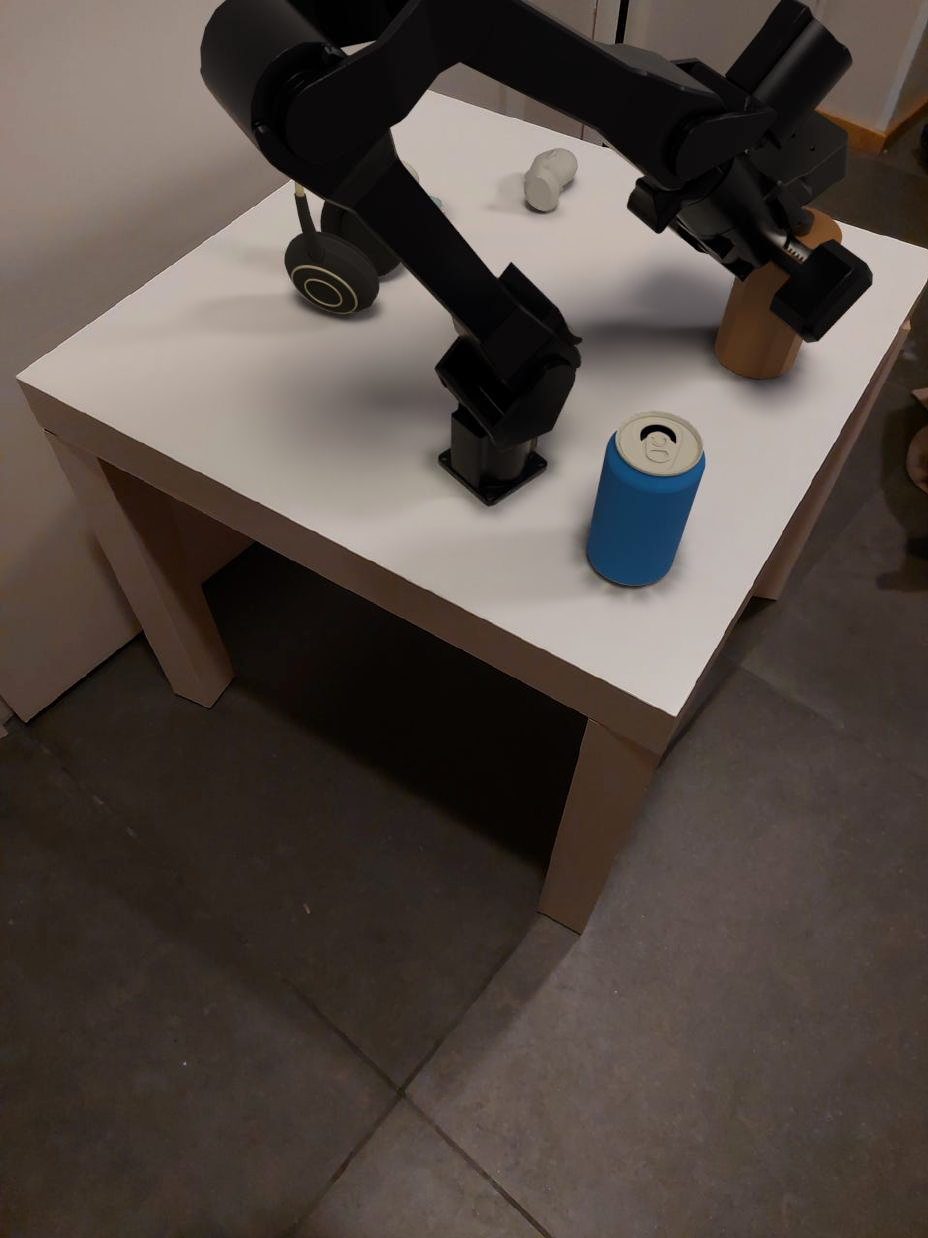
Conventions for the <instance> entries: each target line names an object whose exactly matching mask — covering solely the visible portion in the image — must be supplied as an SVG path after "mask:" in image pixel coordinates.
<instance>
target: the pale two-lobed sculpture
mask: <svg viewBox="0 0 928 1238" xmlns="http://www.w3.org/2000/svg"><path fill="white" fill-rule="evenodd" d="M578 168H579V163H578V159H577V157H576V155H575V154H574V153H573V152H572V151H570V150H569V149H566V148H562V147H557V148H552V149H548V150H545V151H543V152H541V153H539V154H537V155H536V156H535V157H534V159H533V161H532V163H531V165H530V168H529V169H527V171H526V172H525V173H524V179H525V180H524V181H525V185H524V196H525V198H526V200H527V202H528V203H529V205H531V206H532V207H533V208H535V209H536V210H539V211H542V212H550V211H553V210H554V208H556V206H557V204H558V203H559V199H560V193H561V192H563V187H564V186H566V185H567V184H568V183H569V182H570V181H571V180H573V178H574V177H575V176H576V174H577V172H578Z"/></svg>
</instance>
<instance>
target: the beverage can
mask: <svg viewBox="0 0 928 1238" xmlns="http://www.w3.org/2000/svg"><path fill="white" fill-rule="evenodd" d="M705 468H706V454H705V450H704V441H703V438H702V435H701V433H700V431H699V430H698V429H697V428H696V427H695V426H694V425H693V424H692V423H691V422H690V421H688V420H687V419H685V418H684V417H682V416H680V415H677V414H675V413H671V412H668V411H662V410H646V411H640V412H637V413H634V414H631V415H630V416H628V417H627V418H626V419H624V420H623V421H622V422H621V423H620V424H619V426H618V428H617V430H615V431H614V432H613V433H612V435H611V436H610V438H609V439H608V441H607V443H606V447H605V451H604V456H603V462H602V466H601V471H600V475H599V481H598V486H597V491H596V496H595V500H594V506H593V511H592V516H591V520H590V525H589V526H590V527H589V530H588V534H587V535H588V536H587V541H586V552H587V553H586V554H587V557H588V560H589V562H590V563H591V565H592V566H593V568H594V569H595V570H596V571H597V572H598V573H599V574H600V575H601V576H603V577H604V578H606V579H607V580H610V581H611V582H615V583H617V584H621V585H625V586H632V587H633V586H634V587H635V586H636V587H637V586H645V585H650V584H652V583H655V582H657V581H659V580H661V579H662V578H663V577H664V576H665V575H667V573H668V572H669V571H670V570H671V568H672V566H673V563H674V561H675V558H676V555H677V552H678V550H679V546H680V543H681V540H682V538H683V534H684V531H685V528H686V526H687V523H688V519H689V516H690V513H691V511H692V507H693V504H694V501H695V498H696V495H697V493H698V490H699V487H700V484H701V481H702V479H703V475H704V472H705Z"/></svg>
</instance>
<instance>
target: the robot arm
mask: <svg viewBox="0 0 928 1238" xmlns="http://www.w3.org/2000/svg"><path fill="white" fill-rule="evenodd" d="M368 43H369V44H368ZM362 44H368V45H366V46H364V47H362V48H361V49H359V50H357V51H355V52H353V53H352V54H347V53H346V52H345V51H344V50H343V49H344V48H347V47H352V46H358V45H362ZM342 48H343V49H342ZM199 52H200V53H199V54H200V69H199V72H200V76H201V79H202V81H203V83H204V86H205V87H206V88H207V90H208V91H209V92H210V94H211V95H212V97H213V98H214V100H215V101H216V103H218V105H219V106H220V107H221V108H222V109H223V110H224V112H225V113H226V114H227V115H228V117H230V119H231V120H232V121H233V122H234V124H236V126H237V127H238V128H239V129H240V130H241V132H242V133H243V134H244V135H245V136H246V138H247V139H248V140H249V141H250V142H251V144H252V145H254V147H255V148H256V149H257V150H258V151H259V153H260V154H261V155H262V156H263V158H265V160H266V161H267V162H268V163H269V165H271V166H272V167H273V168H275V169H276V170H277V171H278V172H280V173H281V174H283V175H284V176H285V177H287V178H289V179H290V180H292V181H294V183H295V182H297V183H298V184H300V185H301V186H303V188H304V189H305V190H307V191H308V192H310V193H312V194H313V195H315V196H316V197H318V198H320V199H321V200H322V201H323V202H325V201H327V202H329V203H332V204H334V205H337V206H339V207H342V208H344V209H346V210H348V211H350V212H351V213H353V214H354V215H355V216H356V217H357V218H358V219H359V220H360V221H361V222H362V223H363V224H364V225H365V226H366V227H367V228H368V229H369V230H370V231H371V232H372V233H373V234H374V235H375V236H376V237H377V238H378V239H379V241H380V242H381V243H382V244H383V245H384V246H385V247H386V248H387V249H388V250H389V251H390V252H391V253H392V254H393V255H394V256H395V257H396V258H397V259H398V260H399V261H400V262H401V263H400V264H401V265H402V266H403V267H404V268H405V269H406V270H407V271H408V272H409V273H410V274H411V275H412V276H413V277H414V278H415V279H416V280H417V281H418V282H419V283H420V284H421V285H422V286H423V288H424V289H425V290H426V291H428V293H429V294H430V295H431V296H432V297H433V298H434V299H435V300H436V301H437V302H438V303H439V304H440V305H441V306H442V307H443V309H445V311H447V312H448V313H449V314H450V316H451V321H452V325H453V328H454V331H455V332H456V333H457V335H458V336H457V337H456V338H455V339H454V341H453V342H452V343H451V344H450V346H449V348H448V349H447V350H446V351H445V353H443V355H442V357H441V358H440V359H439V360H438V362H437V363H436V364H435V366H434V371H435V375H437V378H438V380H439V382H440V384H441V385H442V386H443V387H444V388H445V389H447V390H448V391H449V393H450V394H451V395H452V396H453V397H454V398H455V400H456V402H457V409H455V410H454V411H452V412H451V413H450V447H449V448H448V449H445V450H444V451H443V452H441V453H439V454H438V456H437V463H438V464H439V465H440V466H441V467H442V468H444V469H445V470H446V471H447V472H448V473H449V474H450V475H452V476H453V477H454V478H455V479H456V480H458V482H460V483H461V484H462V485H464V487H466V489H468V490H469V491H470V492H471V493H472V494H474V495H475V496H476V497H477V498H478V499H479V500H481V501H482V502H483V503H484V504H486V505H488V506H494V505H495V504H497V503H498V502H500V501H502V500H503V499H505V498H507V496H509V495H511V494H512V493H513V492H515V491H516V490H518V489H520V488H521V487H523V486H524V485H525V484H528V483H529V482H530V481H531V480H533V479H534V478H536V477H538V476H539V475H541V474H542V473H544V472H545V471H547V469H548V466H549V465H548V463H549V462H548V461H547V459H545V458H544V457H543V456H542V455H540V454H539V453H538V452H537V451H536V449H537V448H538V443H539V437H541V436H543V435H545V434H548V433H550V432H552V431H553V430H554V428H555V425H556V423H557V421H558V419H559V417H560V415H561V412H562V411H563V408H564V407H565V404H566V402H567V400H568V397H569V396H570V393H571V391H572V390H573V387H574V384H575V382H576V377H577V375H576V373H577V370H578V369H579V368H581V366H582V355H581V352H580V350H579V349H578V348H577V347H576V346H577V345H579V344H581V343H582V342H583V341H584V338H583V337H582V336H581V335H580V334H579V333H578V332H577V331H576V330H575V329H574V328H573V327H572V326H571V325H570V324H569V323H568V322H567V321H566V319H565V317H564V315H563V314H562V312H561V310H560V308H559V307H558V306H557V305H556V304H555V303H554V302H553V301H552V300H551V299H550V298H548V297H549V296H547V295H546V294H545V293H544V292H543V291H542V290H540V288H539V287H538V286H537V285H536V284H535V283H533V281H531V280H530V278H529V277H528V276H527V275H525V273H524V272H523V271H522V270H520V269H519V267H518V266H516V264H514V263H513V262H512V261H510V262H509V263H508V265H507V266H506V267H505V268H504V270H503V271H502V272H501V273H500V275H499V276H497V275H495V274H494V273H493V272H492V270H490V268H489V267H488V266H487V264H486V263H485V262H484V261H483V260H482V258H481V257H480V256H479V255H478V254H477V252H476V251H475V250H474V249H473V248H472V246H471V245H470V243H469V242H467V240H466V239H465V238H464V236H463V235H462V234H461V233H460V232H459V230H458V229H457V228H456V227H455V225H454V224H453V223H452V222H451V221H450V219H449V218H448V217H447V216H446V214H445V212H444V213H443V212H442V211H441V210H440V209H439V207H438V206H437V205H436V204H435V202H434V201H433V200H432V199H431V198H430V196H431V195H429V194H428V193H427V191H426V190H425V189H424V187H423V186H422V185H421V184H420V182H419V183H418V182H417V181H416V179H415V178H414V177H413V176H412V174H411V173H410V172H409V171H408V170H407V168H406V167H405V166H404V165H403V163H402V162H401V160H402V159H401V158H400V156H399V154H398V152H397V148H396V144H395V140H394V135H393V133H392V130H391V128H392V127H394V126H396V125H398V124H399V123H401V122H402V121H404V120H405V119H406V118H407V117H408V116H409V115H410V113H411V112H412V111H413V109H415V107H416V105H417V104H418V103H419V101H420V100H421V99H422V97H423V96H424V95H425V94H426V92H427V91H428V90H429V88H430V87H431V86H432V84H433V83H434V82H435V80H436V79H437V78H438V76H439V75H440V74H442V73H443V72H445V71H446V70H449V69H451V68H452V67H454V66H457V65H458V64H462V65H463V66H466V67H468V68H470V69H472V70H473V71H476V72H477V73H479V74H482V75H484V76H485V77H488V78H490V79H492V80H493V81H496V82H498V83H500V84H502V85H504V86H506V87H508V88H510V89H512V90H514V91H516V92H518V93H520V94H522V95H524V96H526V97H528V98H530V99H532V100H534V101H536V102H538V103H540V104H542V105H544V106H545V107H548V108H550V109H551V110H554V111H556V112H558V113H560V114H562V115H564V116H566V117H567V118H570V119H572V120H573V121H576V122H578V123H580V124H582V126H584V127H585V128H587V130H589V131H590V132H591V133H592V134H593V135H594V136H595V137H597V138H598V140H600V141H601V142H602V143H603V144H604V145H605V146H607V148H609V149H611V151H613V152H614V153H615V154H616V155H618V156H619V157H620V158H622V159H623V160H624V161H626V162H627V163H628V164H629V165H630V166H631V167H633V168H634V169H635V170H636V171H638V172H639V173H641V174H642V175H643V176H641V177H638V178H637V179H636V180H635V184H634V188H633V189H632V190H631V192H630V193H629V196H628V200H627V202H626V209H627V210H628V211H629V212H630V213H631V214H633V215H634V216H635V217H636V218H637V219H639V220H640V221H641V222H642V223H643V224H644V225H645V226H647V227H648V228H649V229H650V230H652V231H653V233H655V234H657V235H660V234H663V232H665V230H666V229H669V230H670V231H671V232H672V233H674V234H675V235H676V236H677V237H679V238H680V239H681V240H683V241H684V242H685V243H687V244H688V245H689V246H690V247H692V248H693V249H694V250H695V251H696V252H698V253H702V254H704V255H709V256H710V257H711V258H712V259H713V260H714V261H716V262H717V263H718V264H719V265H720V266H721V267H723V268H724V269H725V270H727V271H728V272H729V273H730V274H731V275H733V276H734V278H735V277H736V278H738V279H739V280H740V281H741V282H744V281H745V279H746V278H747V277H748V276H749V275H750V274H751V273H752V271H753V270H754V269H759V268H761V267H763V266H765V265H766V264H768V263H769V262H770V263H772V264H773V265H774V266H776V267H777V268H778V269H779V270H781V271H782V272H783V273H784V274H786V275H787V276H788V277H789V279H788V280H787V281H786V282H785V283H784V284H783V285H782V286H781V287H780V289H779V290H778V291H777V292H776V293H775V294H774V296H773V299H772V302H771V305H770V308H769V310H770V312H771V313H773V314H774V315H775V316H776V317H777V318H778V319H779V320H780V321H781V322H782V323H783V324H785V325H786V326H787V327H788V328H789V329H791V330H792V331H793V332H794V333H795V334H797V335H798V336H799V337H800V338H802V339H803V342H805V343H806V344H812V343H818V342H819V341H820V340H821V339H822V338H824V336H825V335H826V334H827V333H828V332H829V331H830V330H831V329H832V328H833V327H834V326H835V324H837V323H838V322H839V320H840V319H841V318H842V317H843V316H844V315H845V314H846V313H847V312H848V311H849V310H850V309H851V308H852V307H853V306H854V305H855V303H857V302H858V300H859V299H860V298H862V296H863V295H864V294H865V293H866V292H867V291H868V290H869V289H870V288H871V287H872V286H873V281H874V273H873V272H872V270H871V267H870V266H869V264H868V263H867V262H866V261H865V260H863V259H862V258H861V257H859V256H858V255H856V254H855V253H853V252H852V251H850V249H848V248H847V247H845V246H844V245H843V244H842V243H841V244H840V243H838V242H837V241H836V240H834V239H831V240H828V241H826V242H823V243H821V244H819V245H818V247H816V248H814V249H810V248H809V247H807V246H806V245H805V244H803V243H802V242H801V241H799V240H798V239H797V238H795V237H794V236H793V235H791V234H790V233H789V232H788V231H789V230H790V229H791V230H792V231H796V230H797V229H798V228H799V227H800V226H801V224H802V223H803V222H804V221H805V220H806V219H807V218H808V217H807V216H806V214H805V213H804V211H803V210H802V207H803V206H807V205H809V204H810V203H812V202H813V201H814V200H815V199H817V198H818V197H819V196H820V195H822V194H823V193H824V192H825V191H827V190H828V189H830V188H831V187H832V186H833V185H834V184H835V183H837V184H838V183H839V182H841V181H842V180H843V179H844V178H845V177H846V176H847V174H848V171H849V166H848V165H849V133H848V131H847V130H846V129H845V128H843V127H842V126H840V125H838V124H837V123H835V122H834V121H832V120H831V119H829V118H828V117H826V116H825V115H823V114H821V113H820V112H818V111H817V110H816V109H817V108H818V106H819V105H820V104H821V103H822V101H824V99H825V98H826V97H827V96H828V94H829V93H830V92H831V91H832V90H833V88H834V87H835V86H836V85H837V84H838V83H839V82H840V80H841V79H842V78H843V77H844V76H845V74H847V72H848V71H849V70H850V68H851V67H852V66H853V64H854V63H853V62H854V60H853V56H852V53H851V52H850V49H849V48H848V47H847V46H846V45H845V44H843V43H841V42H840V41H839V40H838V39H837V38H836V37H835V35H834V34H833V33H832V32H831V31H830V30H829V29H828V28H827V27H826V26H825V25H824V24H822V22H821V21H820V20H818V19H817V18H816V17H814V15H813V12H812V10H811V8H810V7H809V5H807V4H806V3H804V2H801V1H800V0H779V2H778V3H777V4H776V6H775V7H774V8H773V10H772V11H771V13H769V15H768V17H767V18H766V20H765V22H764V23H763V25H762V27H761V28H760V30H759V31H758V32H757V33H756V34H755V36H754V37H753V38H752V40H751V41H750V42H749V43H748V45H746V47H745V48H744V50H743V51H742V52H741V53H740V55H739V56H738V57H737V59H736V60H735V62H734V61H733V62H734V63H732V65H731V66H730V68H729V69H728V70H727V71H726V73H725V74H724V75H723V74H721V73H720V72H719V71H717V70H716V69H713V67H711V66H709V65H708V64H706V62H703V61H702V60H700V59H699V58H697V57H690V58H682V59H681V58H680V59H671V60H669V59H666V57H664V56H663V55H661V54H660V53H658V52H655V51H653V50H649V49H645V48H640V47H637V46H634V45H630V44H626V43H623V42H620V43H612V44H608V43H605V42H601V41H598V40H594V39H592V38H591V37H589V36H587V35H586V34H584V33H582V32H581V31H579V30H577V29H576V28H574V27H573V26H571V25H569V24H568V23H566V22H565V21H563V20H561V19H560V18H558V17H557V16H555V15H553V14H551V13H550V12H548V11H546V10H545V9H543V8H542V7H540V6H539V5H537V4H535V3H533V2H532V1H530V0H224V1H223V2H221V4H219V5H218V6H217V7H216V8H215V9H214V11H213V13H212V14H211V16H210V18H209V20H208V21H207V23H206V24H205V26H204V30H203V35H202V38H201V43H200V47H199ZM348 55H350V56H348ZM783 246H784V247H783ZM782 247H783V248H784V249H785V250H786V249H787V251H788V252H791V254H792V255H794V254H795V255H794V256H795V258H797V257H798V260H799V261H801V260H802V261H801V262H802V264H800V263H799V262H797V261H796V260H795V259H793V258H792V257H791V256H790V255H788V254H787V253H786V252H784V251H783V250H782Z"/></svg>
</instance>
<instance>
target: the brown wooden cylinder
mask: <svg viewBox="0 0 928 1238" xmlns="http://www.w3.org/2000/svg"><path fill="white" fill-rule="evenodd" d="M802 210H803V211H804V213H805V214H806V216H807V217H808V218H807V219H806V220H805V221H804V222H803V223H802V224H801V226H800V227H799V228H798V229H797V230H796V231H792V230H791V229H790V230H789V231H788V232H789V233H790V234H791V235H793V236H794V237H795V238H797V239H798V240H799V241H801V242H802V243H803V244H805V245H806V246H807V247H809V248H810V249H814V248H816V247H818V245H819V244H821V243H823V242H826V241H828V240H831V239H834V240H836V241H837V242H838V243H840V244H841V245H842V241H843V232H842V229H841V228H840V225H839V224H838V223H837V221H835V220H834V218H832V217H831V216H829V215H828V214H826V213H824V212H822V211H821V210H818V209H816V208H813V207H809V206H807V205H805V206H803V207H802ZM783 247H784V246H783ZM783 247H782V250H783V251H784V252H786V253H787V254H788V255H790V256H791V257H792V258H793V259H795V260H796V261H797V262H799V263H800V264H802V262H801V261H802V260H801V261H799V260H798V257H797V258H795V256H794V255H795V254H794V255H792V254H791V252H788V251H787V249H786V250H785V249H784V248H783ZM788 279H789V277H788V276H787V275H786V274H784V273H783V272H782V271H781V270H779V269H778V268H777V267H776V266H774V265H773V264H772V263H770V262H769V263H768V264H766V265H765V266H763V267H761V268H759V269H754V270H753V271H752V273H751V274H750V275H749V276H748V277H747V278H746V279H745V281H744V282H741V281H740V280H739V279H738V278H736V277H735V276H734V279H733V282H732V286H731V288H730V292H729V296H728V298H727V302H726V306H725V308H724V312H723V315H722V319H721V322H720V326H719V329H718V332H717V335H716V338H715V343H714V346H713V352H714V353H715V355H716V357H717V359H718V362H719V363H720V364H721V365H722V366H724V367H725V368H727V369H729V371H731V372H733V373H734V374H736V375H738V376H742V377H747V378H751V379H755V380H765V379H766V380H767V379H772V378H779V377H781V376H782V375H783V374H785V373H786V372H788V371H789V370H790V369H792V368H793V367H794V364H795V361H796V359H797V357H798V354H799V352H800V350H801V346H802V344H803V343H804V340H803V339H802V338H800V337H799V336H798V335H797V334H795V333H794V332H793V331H792V330H791V329H789V328H788V327H787V326H786V325H785V324H783V323H782V322H781V321H780V320H779V319H778V318H777V317H776V316H775V315H774V314H773V313H771V312H770V310H769V308H770V305H771V302H772V299H773V296H774V294H775V293H776V292H777V291H778V290H779V289H780V287H781V286H782V285H783V284H784V283H785V282H786V281H787V280H788Z"/></svg>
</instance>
